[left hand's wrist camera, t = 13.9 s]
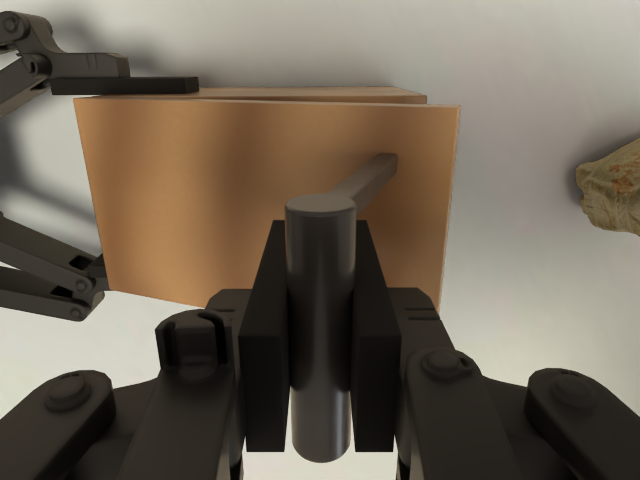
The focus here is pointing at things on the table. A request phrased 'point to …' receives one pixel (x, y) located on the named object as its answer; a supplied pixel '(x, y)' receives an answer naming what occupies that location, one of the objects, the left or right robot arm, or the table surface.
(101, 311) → the table surface
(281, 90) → the chest
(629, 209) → the sculpture
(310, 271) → the lid
